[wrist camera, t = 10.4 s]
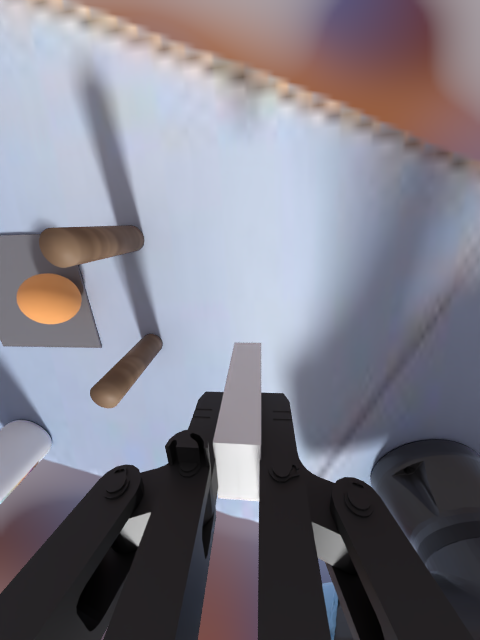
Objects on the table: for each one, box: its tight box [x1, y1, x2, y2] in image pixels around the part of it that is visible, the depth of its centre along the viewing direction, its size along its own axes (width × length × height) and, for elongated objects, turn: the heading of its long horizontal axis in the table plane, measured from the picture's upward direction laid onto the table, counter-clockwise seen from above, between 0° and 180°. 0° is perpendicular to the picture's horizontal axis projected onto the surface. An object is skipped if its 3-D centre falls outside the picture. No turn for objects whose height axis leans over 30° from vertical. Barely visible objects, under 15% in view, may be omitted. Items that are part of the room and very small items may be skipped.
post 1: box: [39, 225, 144, 268], centre depth 21 cm, size 3×3×10 cm
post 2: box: [90, 334, 163, 408], centre depth 25 cm, size 3×3×10 cm
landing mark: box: [0, 234, 102, 348], centre depth 29 cm, size 14×14×1 cm
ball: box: [16, 273, 82, 324], centre depth 26 cm, size 6×6×6 cm
